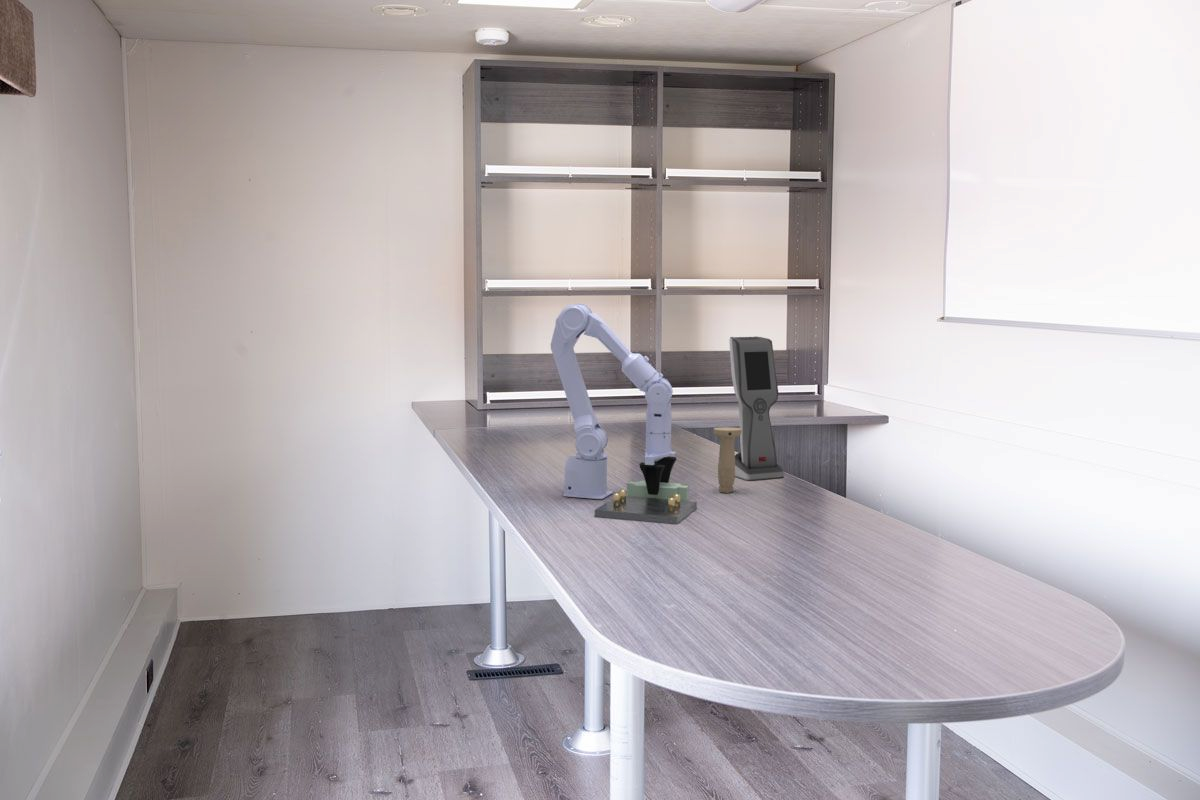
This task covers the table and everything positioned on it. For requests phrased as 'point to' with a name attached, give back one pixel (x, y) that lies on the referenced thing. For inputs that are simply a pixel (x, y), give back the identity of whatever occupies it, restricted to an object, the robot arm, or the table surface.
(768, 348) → the thermal camera
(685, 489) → the pale green block
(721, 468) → the handle
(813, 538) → the table surface
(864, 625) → the table surface
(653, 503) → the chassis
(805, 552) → the table surface
